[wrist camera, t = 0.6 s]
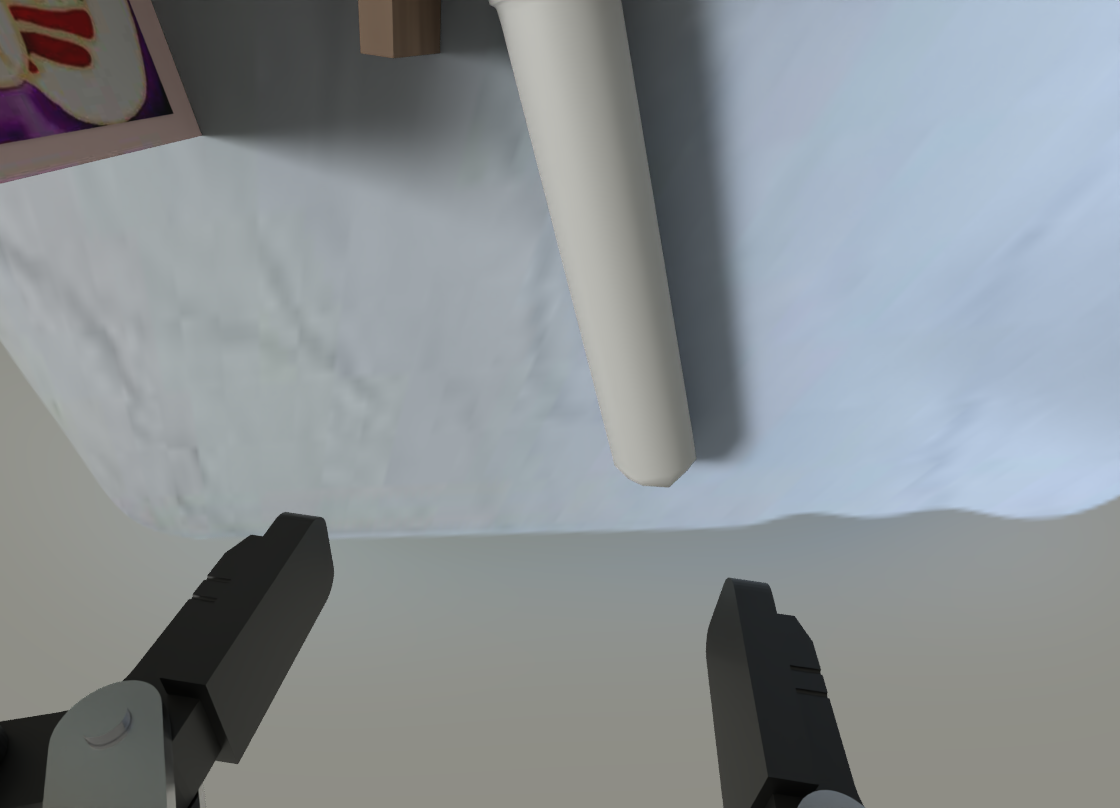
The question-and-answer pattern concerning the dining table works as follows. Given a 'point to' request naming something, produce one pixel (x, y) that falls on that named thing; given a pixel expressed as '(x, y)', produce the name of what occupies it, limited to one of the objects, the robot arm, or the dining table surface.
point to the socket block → (399, 27)
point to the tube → (604, 222)
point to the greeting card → (85, 84)
